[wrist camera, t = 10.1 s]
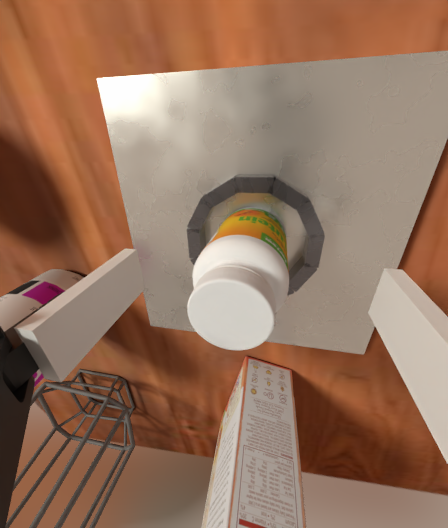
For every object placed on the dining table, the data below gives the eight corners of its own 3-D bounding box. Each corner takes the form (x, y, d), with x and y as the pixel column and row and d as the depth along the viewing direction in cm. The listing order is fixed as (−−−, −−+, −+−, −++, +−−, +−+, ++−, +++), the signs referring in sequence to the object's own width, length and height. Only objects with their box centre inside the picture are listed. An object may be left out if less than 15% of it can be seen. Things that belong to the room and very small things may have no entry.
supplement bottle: (300, 225, 17) (320, 303, 9) (265, 278, 20) (256, 377, 11) (235, 193, 17) (193, 241, 9) (210, 251, 20) (159, 330, 11)
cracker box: (260, 428, 33) (243, 779, 15) (220, 414, 33) (156, 740, 15) (296, 368, 26) (348, 892, 8) (245, 352, 26) (182, 815, 8)
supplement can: (100, 271, 25) (-91, 411, 12) (112, 327, 29) (-21, 478, 16) (36, 260, 26) (-202, 377, 13) (56, 315, 30) (-111, 447, 17)
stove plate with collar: (465, 56, 12) (511, 34, 10) (359, 344, 23) (369, 369, 20) (107, 82, 16) (78, 71, 14) (155, 318, 27) (143, 336, 24)
